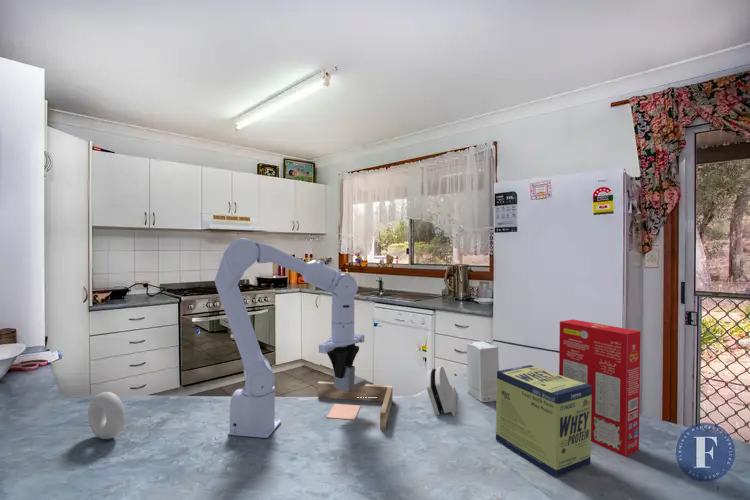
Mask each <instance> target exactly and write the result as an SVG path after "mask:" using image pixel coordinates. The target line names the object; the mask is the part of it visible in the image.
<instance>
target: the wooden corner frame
mask: <svg viewBox="0 0 750 500" xmlns="http://www.w3.org/2000/svg"><path fill="white" fill-rule="evenodd" d="M393 387H394V386H393V385H385V384H384V385H382V384H378V385H377V384H366V385H365V386H363V387H361V388H358V389H356V390H354V391H351V392H349V393H348V392H345V391H343V390H340V389H338V388H335V387H334V381H318V382H317V392H316V393H317V394H316V396H317V398H322V399H324V398H325V399H337V398H339V399H338V400H355V401H368V402H371V401H372V402H382V406H381V409H380V412H379V430H380V431H386V428H387V424H388V421H389V417H390V412H391V408H392V403H393V392H394V391H393ZM357 397H359V398H357ZM360 397H362V398H360ZM363 397H364V398H363ZM365 397H367V398H365ZM368 397H377V398H368Z"/></svg>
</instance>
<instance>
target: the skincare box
mask: <svg viewBox="0 0 750 500" xmlns="http://www.w3.org/2000/svg"><path fill="white" fill-rule="evenodd" d="M499 359H500V358H499V346H496V345H493V344H491V343H488V342H486V341H473V342H466V362H467V365H466V366H467V393H468V394H470V395H471V396H472V397H474V398H475V399H477V400H478V401H480V403H488V402H491V403H492V402H497V371H500V366H499V365H500V364H499V362H500V361H499Z"/></svg>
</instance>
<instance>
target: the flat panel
mask: <svg viewBox="0 0 750 500" xmlns="http://www.w3.org/2000/svg"><path fill="white" fill-rule="evenodd" d="M360 408H361V405H355V404H341V403H333V406H332V408H331V409H330V410H329V413H328V414H327V416H326V418H327V419H335V420H337V419H338V420H339V419H340V420H351V421H352V420H353V421H355V420H356V418H357V416H358V413H359V411H360Z"/></svg>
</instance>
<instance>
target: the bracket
mask: <svg viewBox="0 0 750 500" xmlns="http://www.w3.org/2000/svg"><path fill="white" fill-rule="evenodd" d="M355 371H356V366H354V365H349V364H346V363H344V375H343V378H337V377H335V373H334V374H333V382H334V387H335V388H338V389H340V390H343V391H345V392H348V393H349V392H351V391H354V390H356V389H358V388H361V387H363V386H365V385H366V382H367V379H365V378H363V377H360V376H357V375H356V373H355Z"/></svg>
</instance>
